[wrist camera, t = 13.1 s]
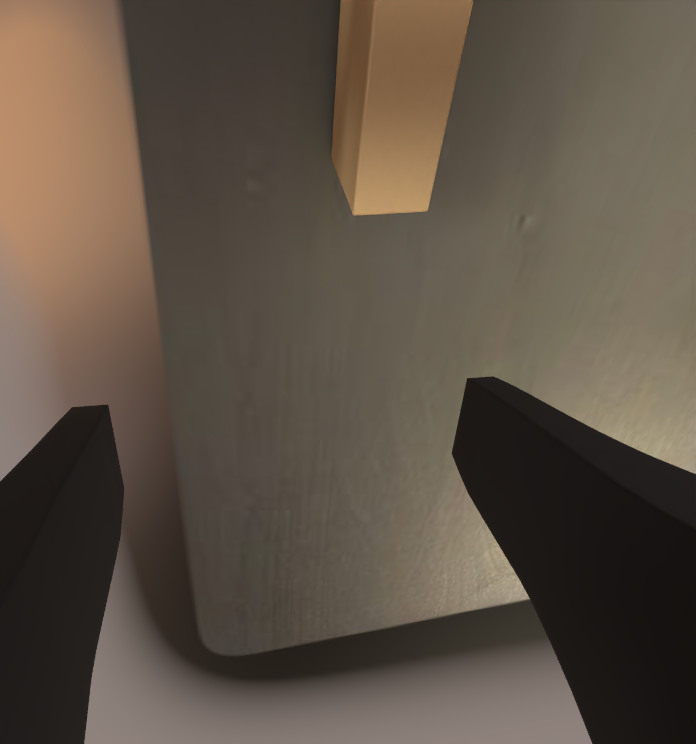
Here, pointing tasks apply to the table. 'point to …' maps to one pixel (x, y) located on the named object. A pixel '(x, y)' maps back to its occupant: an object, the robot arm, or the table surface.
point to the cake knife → (394, 98)
